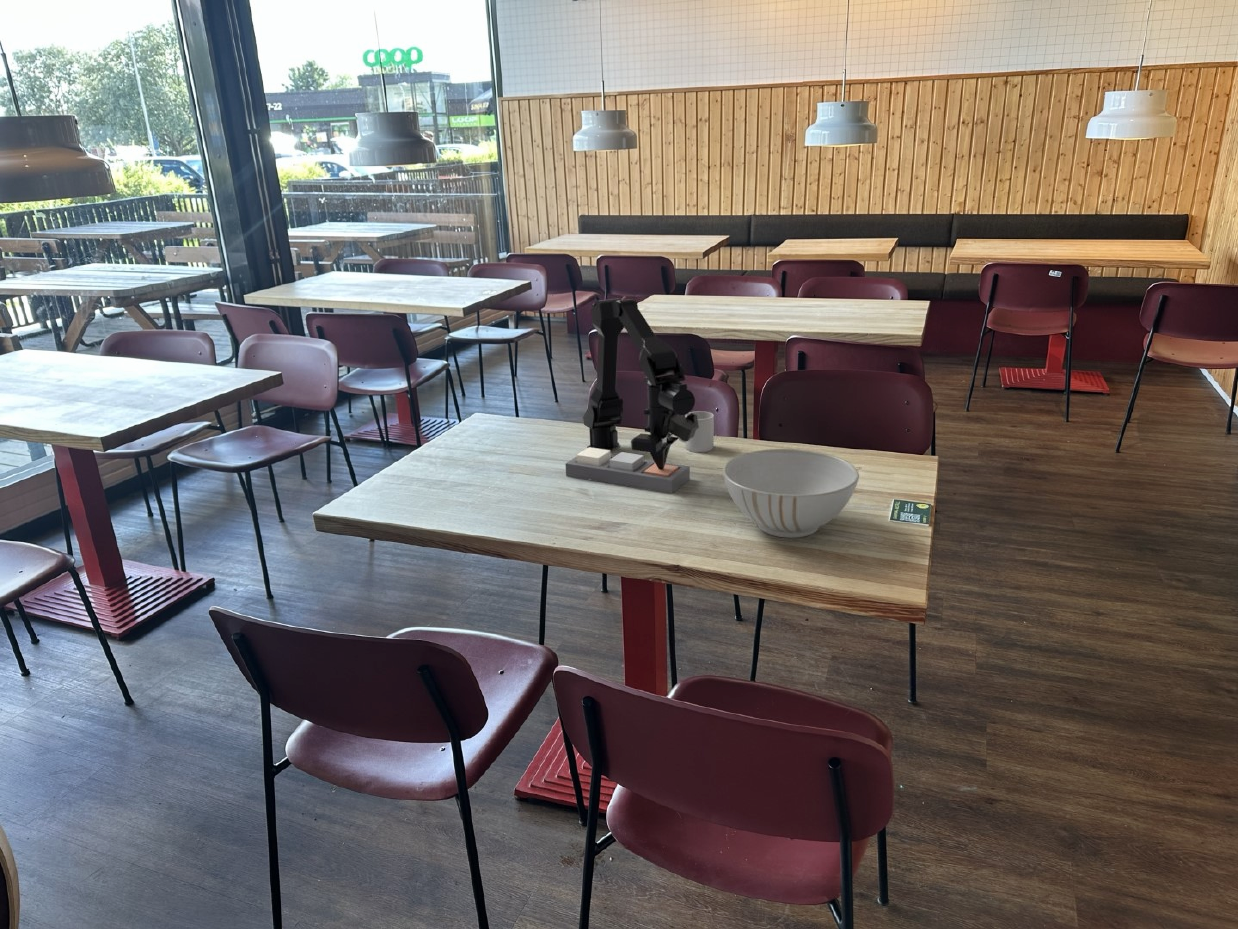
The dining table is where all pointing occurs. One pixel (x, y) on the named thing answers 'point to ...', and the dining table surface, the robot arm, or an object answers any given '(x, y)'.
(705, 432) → the cup
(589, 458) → the cream key
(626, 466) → the grey key
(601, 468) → the frame
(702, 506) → the dining table surface
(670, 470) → the terracotta key
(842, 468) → the decorative bowl
